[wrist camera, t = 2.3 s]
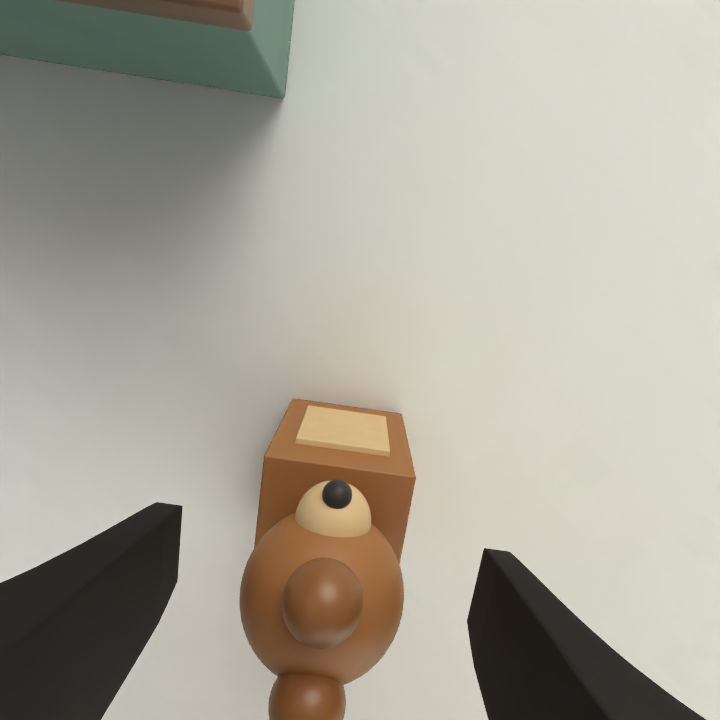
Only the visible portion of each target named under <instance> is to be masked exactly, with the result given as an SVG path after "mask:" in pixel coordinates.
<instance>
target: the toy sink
mask: <svg viewBox="0 0 720 720" xmlns="http://www.w3.org/2000/svg"><path fill="white" fill-rule="evenodd" d="M293 10H294V0H0V54H2V55H9V56H15V57H21V58H28V59H34V60H41V61H47V62H53V63H60V64H66V65H72V66H79V67H85V68H92V69H98V70H104V71H111V72H117V73H124V74H130V75H136V76H143V77H149V78H155V79H162V80H168V81H175V82H181V83H187V84H194V85H200V86H207V87H213V88H219V89H226V90H232V91H238V92H245V93H251V94H258V95H264V96H270V97H277V98H284V96H285V89H286V79H287V70H288V60H289V50H290V40H291V30H292V20H293Z"/></svg>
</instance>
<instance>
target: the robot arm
mask: <svg viewBox="0 0 720 720" xmlns="http://www.w3.org/2000/svg"><path fill="white" fill-rule="evenodd" d="M181 518H182V506H179V505H172V504H165V503H158V502H156V503H154V504H152V505H150V506H148V507H146V508H145V509H143V510H141V511H139V512H137V513H136V514H134V515H132V516H130V517H129V518H127V519H125V520H123V521H122V522H120V523H118V524H116V525H115V526H113V527H111V528H109V529H107V530H106V531H104V532H102V533H100V534H98V535H97V536H95V537H93V538H91V539H89V540H88V541H86V542H84V543H82V544H80V545H78V546H76V547H74V548H72V549H70V550H68V551H67V552H65V553H63V554H61V555H59V556H57V557H55V558H53V559H51V560H49V561H47V562H45V563H43V564H41V565H39V566H37V567H35V568H33V569H31V570H28V571H26V572H24V573H22V574H20V575H18V576H15V577H13V578H11V579H9V580H6V581H4V582H2V583H0V720H101V719H102V717H103V715H104V714H105V712H106V710H107V709H108V707H109V705H110V704H111V702H112V700H113V699H114V697H115V695H116V694H117V692H118V690H119V689H120V687H121V685H122V684H123V682H124V680H125V679H126V677H127V675H128V674H129V672H130V670H131V669H132V667H133V665H134V664H135V662H136V660H137V659H138V657H139V655H140V654H141V652H142V650H143V649H144V647H145V645H146V643H147V642H148V640H149V638H150V637H151V635H152V633H153V632H154V630H155V628H156V626H157V625H158V623H159V621H160V619H161V616H162V614H163V612H164V610H165V608H166V606H167V603H168V601H169V599H170V597H171V594H172V592H173V590H174V587H175V585H176V583H177V578H178V563H179V548H180V533H181ZM467 623H468V631H469V638H470V645H471V651H472V657H473V663H474V668H475V672H476V675H477V679H478V683H479V686H480V690H481V694H482V697H483V701H484V705H485V708H486V712H487V715H488V719H489V720H706V719H704V718H703V717H701V716H700V715H698V714H697V713H695V712H694V711H693V710H691V709H690V708H688V707H687V706H685V705H684V704H683V703H681V702H680V701H678V700H677V699H676V698H674V697H673V696H672V695H670V694H669V693H667V692H666V691H665V690H663V689H662V688H661V687H660V686H658V685H657V684H656V683H654V682H653V681H652V680H651V679H649V678H648V677H647V676H645V675H644V674H643V673H642V672H640V671H639V670H638V669H636V668H635V667H634V666H633V665H631V664H630V663H629V662H628V661H626V660H625V659H624V658H623V657H622V656H620V655H619V654H618V653H617V652H616V651H615V650H613V649H612V648H611V647H610V646H609V645H608V644H607V643H605V642H604V641H603V640H602V639H601V638H600V637H599V636H597V635H596V634H595V633H594V632H593V631H592V630H591V629H590V628H588V627H587V626H586V625H585V624H584V623H583V622H582V621H581V620H580V619H579V618H578V617H577V616H575V615H574V614H573V613H572V612H571V611H570V610H569V609H568V608H567V607H566V606H565V605H564V604H563V603H562V602H561V601H560V600H559V599H558V598H557V597H556V596H555V595H554V594H553V593H552V592H551V591H550V590H549V589H548V588H547V587H546V586H545V585H544V584H543V583H542V582H541V581H540V580H539V579H538V578H537V577H536V576H535V575H534V574H533V573H532V572H530V571H529V570H528V569H527V568H526V567H525V566H524V565H523V564H522V563H521V562H520V561H519V560H518V559H517V558H516V557H515V556H514V555H513V554H511V553H510V552H507V551H500V550H493V549H486V548H484V551H483V555H482V560H481V564H480V568H479V572H478V577H477V581H476V585H475V589H474V594H473V598H472V602H471V607H470V611H469V615H468V619H467Z"/></svg>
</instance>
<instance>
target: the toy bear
mask: <svg viewBox="0 0 720 720" xmlns="http://www.w3.org/2000/svg"><path fill="white" fill-rule="evenodd" d="M415 479H416V477H415V472H414V467H413V463H412V458H411V454H410V449H409V445H408V440H407V435H406V431H405V426H404V422H403V417H402V414H398V413H391V412H384V411H377V410H370V409H363V408H356V407H349V406H342V405H335V404H328V403H321V402H314V401H307V400H300V399H292V401H291V403H290V405H289V407H288V409H287V411H286V413H285V415H284V417H283V419H282V421H281V423H280V425H279V427H278V429H277V431H276V433H275V436H274V438H273V440H272V442H271V444H270V446H269V448H268V450H267V452H266V454H265V456H264V462H263V472H262V481H261V490H260V499H259V509H258V518H257V527H256V536H255V546H254V550H253V552H252V554H251V556H250V558H249V560H248V562H247V564H246V567H245V570H244V574H243V577H242V582H241V588H240V612H241V620H242V624H243V628H244V631H245V634H246V637H247V639H248V642H249V644H250V646H251V647H252V649H253V651H254V652H255V654H256V655H257V657H258V658H259V660H260V661H261V662H262V663H263V664H264V665H265V666H266V667H267V668H268V669H269V670H270V671H271V672H272V673H274V674H275V675H276V676H278V678H277V679H276V681H275V683H274V685H273V687H272V690H271V694H270V698H269V720H343V718H344V714H345V706H346V699H345V691H344V687H343V685H344V684H347V683H349V682H351V681H353V680H355V679H357V678H359V677H361V676H362V675H363V674H365V673H366V672H368V671H369V670H370V669H371V668H372V667H373V666H374V665H375V664H376V663H377V662H378V661H379V660H380V659H381V658H382V657H383V655H384V654H385V652H386V651H387V649H388V648H389V646H390V644H391V643H392V641H393V639H394V637H395V634H396V632H397V629H398V627H399V624H400V620H401V616H402V610H403V602H404V590H403V579H402V574H401V569H400V566H399V564H400V558H401V553H402V548H403V542H404V537H405V532H406V527H407V521H408V516H409V511H410V505H411V500H412V495H413V490H414V484H415Z"/></svg>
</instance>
